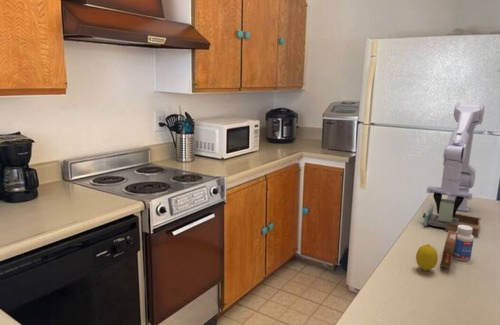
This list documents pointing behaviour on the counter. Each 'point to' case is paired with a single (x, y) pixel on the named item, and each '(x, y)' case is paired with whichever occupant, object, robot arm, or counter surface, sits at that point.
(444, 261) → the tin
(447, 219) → the block
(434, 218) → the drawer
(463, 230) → the pill bottle
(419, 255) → the lemon
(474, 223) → the brown shallow rectangular box
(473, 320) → the counter surface
